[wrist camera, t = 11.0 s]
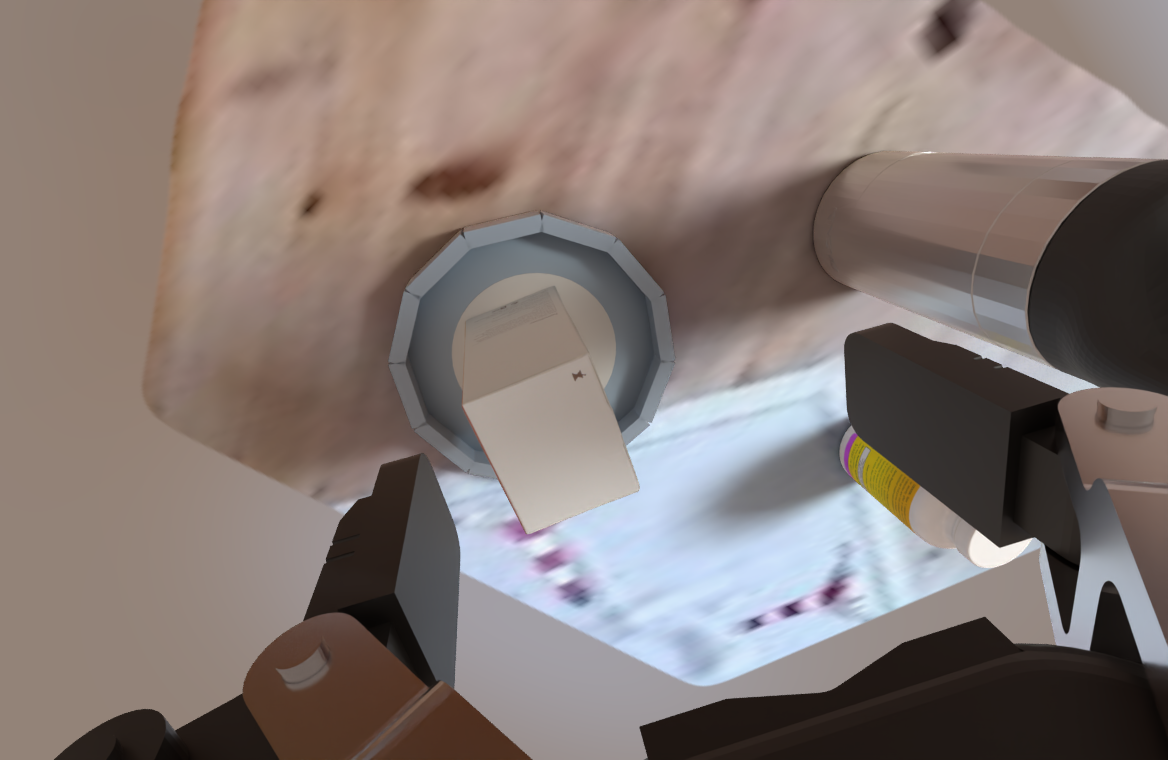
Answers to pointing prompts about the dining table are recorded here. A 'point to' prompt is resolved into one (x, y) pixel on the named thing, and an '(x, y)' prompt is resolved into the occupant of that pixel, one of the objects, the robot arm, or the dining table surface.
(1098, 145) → the dining table surface
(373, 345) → the dining table surface
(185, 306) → the dining table surface
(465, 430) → the grey shallow round dish
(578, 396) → the small box
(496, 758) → the robot arm
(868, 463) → the supplement bottle
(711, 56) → the dining table surface
